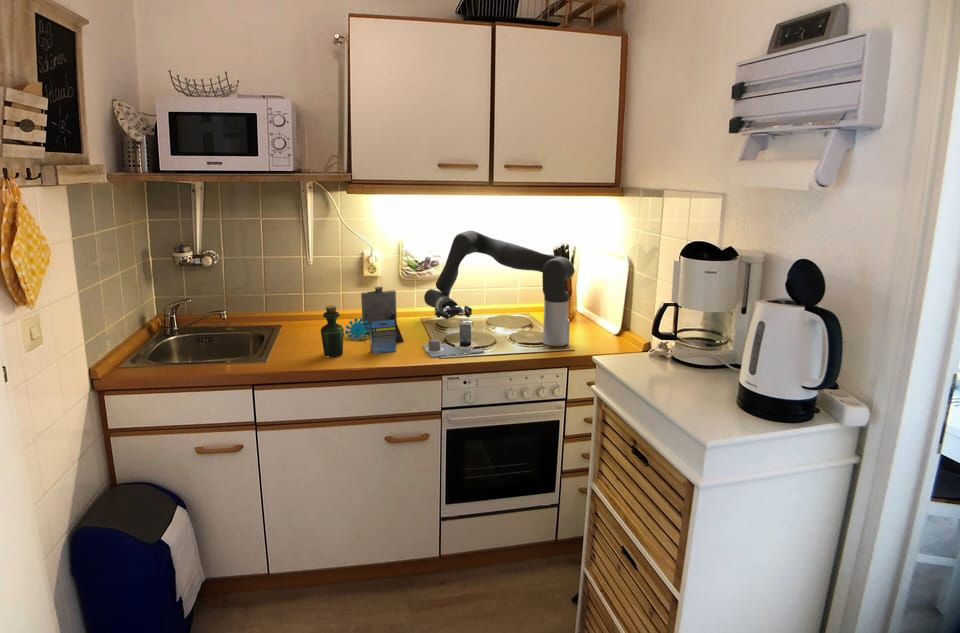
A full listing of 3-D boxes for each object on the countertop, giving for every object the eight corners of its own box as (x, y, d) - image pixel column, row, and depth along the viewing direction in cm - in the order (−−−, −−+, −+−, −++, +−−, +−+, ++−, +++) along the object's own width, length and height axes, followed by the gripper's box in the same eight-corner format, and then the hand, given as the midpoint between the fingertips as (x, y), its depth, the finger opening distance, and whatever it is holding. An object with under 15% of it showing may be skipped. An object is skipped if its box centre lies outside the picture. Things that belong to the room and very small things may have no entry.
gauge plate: (472, 342, 246) (472, 331, 245) (484, 352, 233) (484, 342, 232) (421, 346, 239) (420, 336, 238) (430, 358, 227) (429, 347, 226)
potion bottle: (348, 356, 228) (345, 307, 224) (326, 359, 224) (323, 310, 219) (340, 350, 235) (337, 303, 230) (319, 353, 231) (316, 305, 226)
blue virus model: (340, 336, 247) (350, 314, 251) (344, 343, 252) (353, 322, 256) (366, 342, 245) (375, 320, 249) (370, 349, 250) (378, 327, 254)
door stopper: (381, 344, 242) (379, 314, 239) (377, 340, 248) (376, 310, 245) (403, 342, 245) (403, 312, 242) (400, 337, 251) (399, 308, 248)
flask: (398, 328, 264) (396, 286, 259) (363, 332, 259) (362, 289, 254) (396, 326, 267) (394, 284, 262) (362, 329, 262) (360, 287, 257)
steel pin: (469, 344, 240) (469, 318, 238) (472, 347, 236) (473, 322, 234) (457, 345, 239) (457, 319, 236) (461, 348, 235) (461, 323, 232)
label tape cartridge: (394, 348, 237) (393, 316, 234) (396, 351, 234) (395, 319, 231) (370, 350, 234) (369, 318, 231) (372, 354, 231) (371, 321, 228)
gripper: (429, 299, 257) (440, 307, 242) (463, 296, 262) (475, 305, 247) (430, 317, 259) (440, 326, 244) (463, 314, 264) (475, 323, 249)
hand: (458, 315), depth 246 cm, fingers open, 8 cm apart
